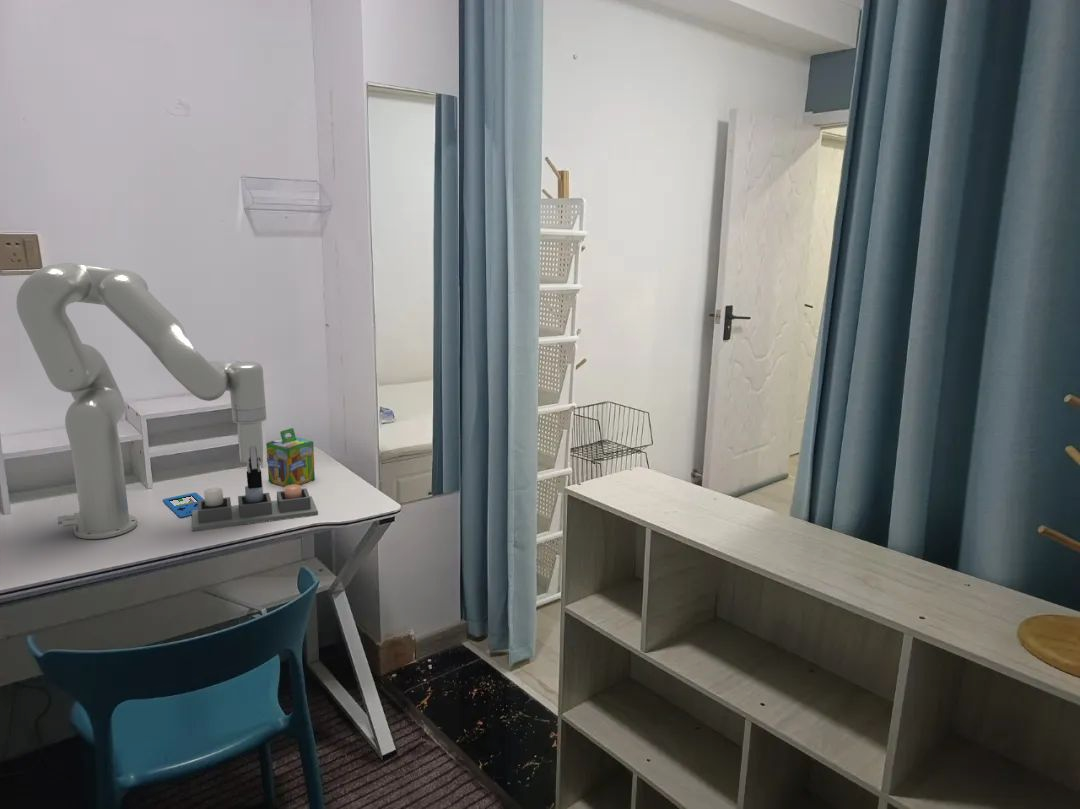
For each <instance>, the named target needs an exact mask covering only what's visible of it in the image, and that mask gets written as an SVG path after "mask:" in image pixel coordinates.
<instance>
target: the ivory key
mask: <svg viewBox="0 0 1080 809" xmlns="http://www.w3.org/2000/svg"><path fill="white" fill-rule="evenodd" d="M203 496H204V500H205V505H206V506H218V505H221V504H223V498H224V493H223V489H222V487H211V488H210V487H209V488H206V489H205V490H204V491H203Z"/></svg>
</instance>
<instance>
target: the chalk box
mask: <svg viewBox="0 0 1080 809" xmlns="http://www.w3.org/2000/svg"><path fill="white" fill-rule="evenodd" d="M295 433H296V432H295V429H294V428H292V427H291V428H286V429H284V430H281V431H280V433H279V434H280V437H281V438H279V439H276V440H271V441H269V442H266V444H265V445H266V456H267V458H266V459H267V460H266V461H267V472H268V473H267V474H268V475H267V476H268V483H269V482H270V483H269V484H274V485H278V486H282V487H285V486H287V485H292V484H297V485H301V486H302V485H304V484H306V483H310V482H312V481H315V479H316V478H315V454H314V453H315V452H314V451H315V450H314V441H312V440H308V439H305V438H302V437H296V434H295ZM288 434H290V436H286V435H288Z"/></svg>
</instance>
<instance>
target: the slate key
mask: <svg viewBox="0 0 1080 809" xmlns="http://www.w3.org/2000/svg"><path fill="white" fill-rule="evenodd" d="M244 493H245V494H244V495H245V496H246V501H247V502H259V501H262V500H263V493H264V486H263V485H262V487H260V488H251V489H249V488H248V485H246V486H245V487H244Z"/></svg>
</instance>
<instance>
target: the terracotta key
mask: <svg viewBox="0 0 1080 809" xmlns="http://www.w3.org/2000/svg"><path fill="white" fill-rule="evenodd" d="M283 487H284V488H283V489H284V490H283V491H285V500H286V499H294V498H302V491H301V489H302V484H301V485H297V484H292V485H287V486H283Z"/></svg>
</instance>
